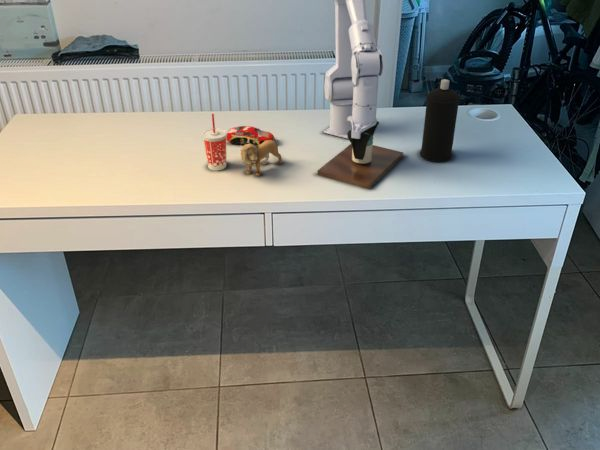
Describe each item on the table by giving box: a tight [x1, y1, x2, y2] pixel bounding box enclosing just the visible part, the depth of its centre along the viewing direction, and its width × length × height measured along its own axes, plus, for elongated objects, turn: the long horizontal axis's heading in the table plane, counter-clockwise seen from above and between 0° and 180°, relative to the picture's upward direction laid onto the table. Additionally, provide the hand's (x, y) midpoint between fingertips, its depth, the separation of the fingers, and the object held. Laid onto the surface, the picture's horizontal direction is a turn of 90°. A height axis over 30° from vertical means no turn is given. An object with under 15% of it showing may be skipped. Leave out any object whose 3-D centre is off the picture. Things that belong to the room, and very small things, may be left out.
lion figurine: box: [240, 140, 282, 177], centre depth 151 cm, size 15×5×9 cm, turn 150°
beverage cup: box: [201, 113, 228, 171], centre depth 151 cm, size 6×6×14 cm
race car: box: [226, 125, 276, 146], centre depth 166 cm, size 13×5×4 cm, turn 76°
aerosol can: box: [419, 78, 461, 163], centre depth 154 cm, size 8×8×20 cm
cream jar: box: [352, 133, 374, 163], centre depth 152 cm, size 5×5×6 cm
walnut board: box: [317, 143, 404, 190], centre depth 155 cm, size 20×14×1 cm
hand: (362, 153), depth 153 cm, fingers closed on cream jar, 5 cm apart
